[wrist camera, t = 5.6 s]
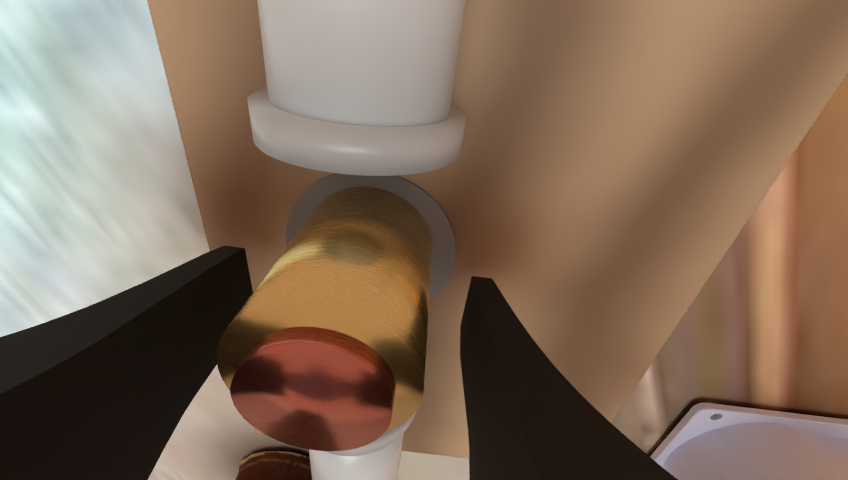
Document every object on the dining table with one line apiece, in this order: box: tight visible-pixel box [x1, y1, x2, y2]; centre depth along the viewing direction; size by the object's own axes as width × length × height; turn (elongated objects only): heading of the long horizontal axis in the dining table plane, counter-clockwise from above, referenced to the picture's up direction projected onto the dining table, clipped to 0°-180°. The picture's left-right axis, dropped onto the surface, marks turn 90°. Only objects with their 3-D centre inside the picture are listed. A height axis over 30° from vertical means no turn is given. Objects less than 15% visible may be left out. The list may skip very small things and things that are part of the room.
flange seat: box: [286, 173, 456, 301], centre depth 12 cm, size 6×6×1 cm
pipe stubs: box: [248, 0, 466, 480], centre depth 11 cm, size 5×23×5 cm, turn 174°
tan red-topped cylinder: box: [216, 187, 433, 451], centre depth 9 cm, size 4×4×6 cm
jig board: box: [147, 0, 848, 458], centre depth 13 cm, size 18×26×1 cm
